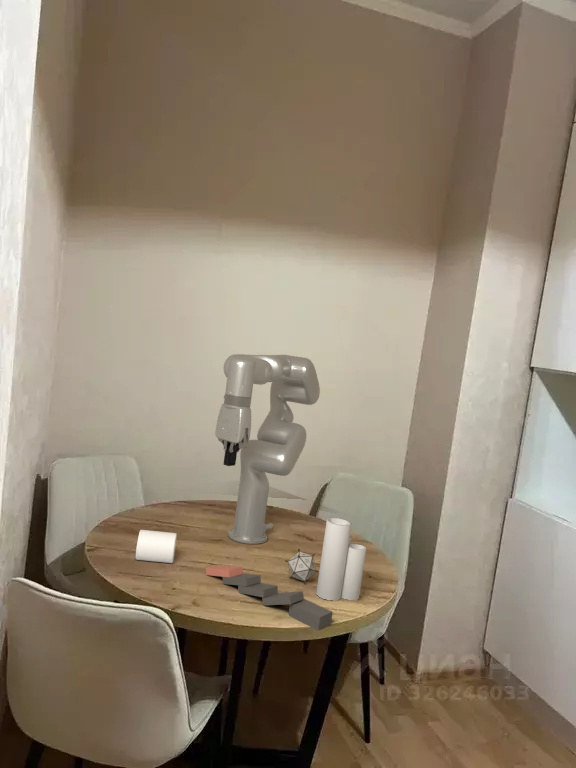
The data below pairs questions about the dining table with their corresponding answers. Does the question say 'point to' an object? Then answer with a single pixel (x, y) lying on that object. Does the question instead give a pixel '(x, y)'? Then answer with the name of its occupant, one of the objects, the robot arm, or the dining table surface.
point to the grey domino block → (308, 622)
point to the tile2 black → (242, 580)
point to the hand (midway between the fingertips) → (229, 464)
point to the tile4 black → (283, 598)
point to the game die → (302, 566)
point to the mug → (156, 546)
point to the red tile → (224, 570)
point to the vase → (340, 563)
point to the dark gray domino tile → (259, 590)
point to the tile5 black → (311, 611)
